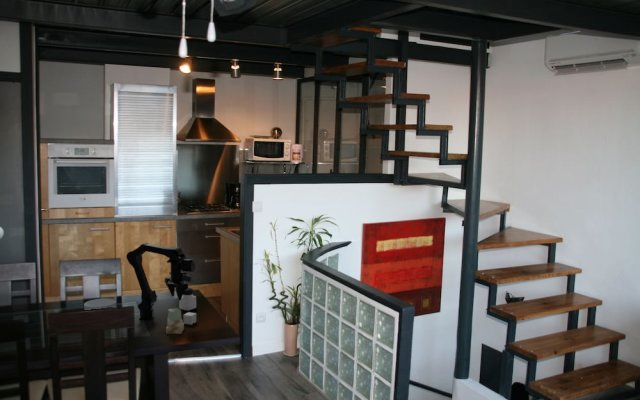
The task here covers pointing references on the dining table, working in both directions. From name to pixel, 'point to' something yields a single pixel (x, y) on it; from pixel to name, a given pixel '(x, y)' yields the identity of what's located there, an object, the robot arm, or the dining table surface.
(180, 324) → the birch slab
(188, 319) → the grey cube
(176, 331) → the oak slab
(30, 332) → the dining table surface
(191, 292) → the medicine bottle
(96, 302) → the cereal bowl
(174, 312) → the sage cube
